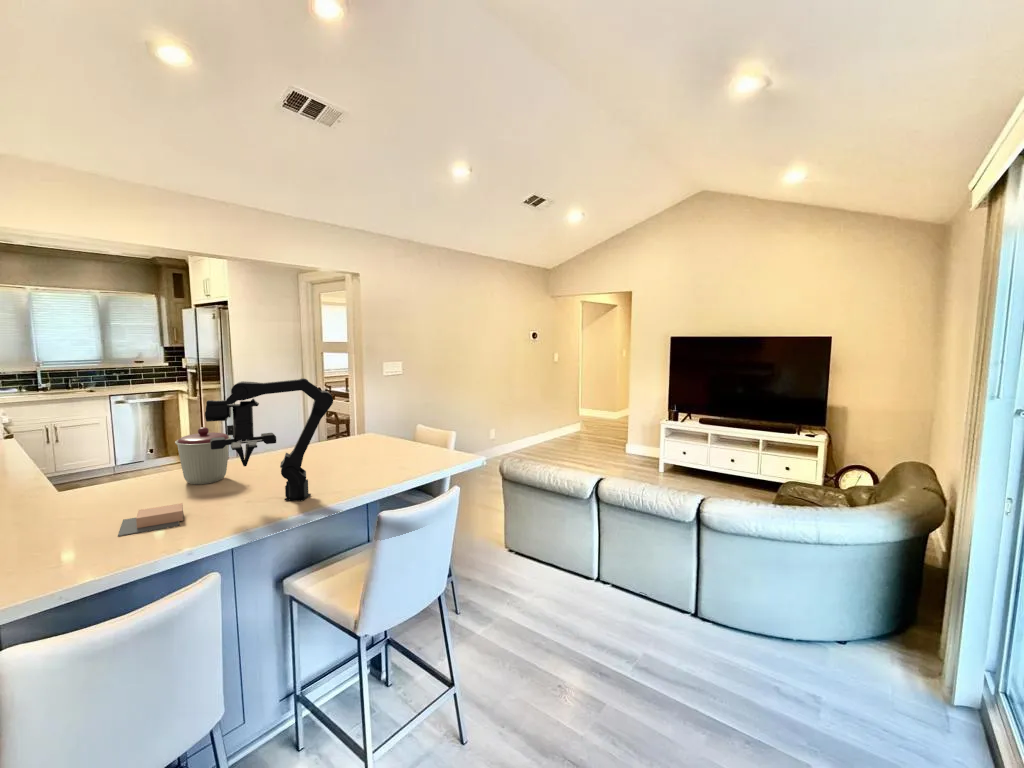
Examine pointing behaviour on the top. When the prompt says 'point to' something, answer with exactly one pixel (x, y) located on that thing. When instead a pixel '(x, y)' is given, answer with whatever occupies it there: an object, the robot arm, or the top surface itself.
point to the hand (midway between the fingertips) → (244, 466)
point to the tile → (159, 515)
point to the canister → (202, 457)
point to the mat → (131, 527)
